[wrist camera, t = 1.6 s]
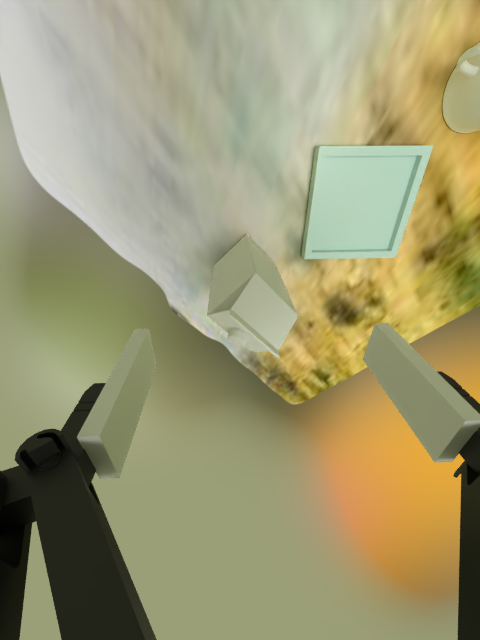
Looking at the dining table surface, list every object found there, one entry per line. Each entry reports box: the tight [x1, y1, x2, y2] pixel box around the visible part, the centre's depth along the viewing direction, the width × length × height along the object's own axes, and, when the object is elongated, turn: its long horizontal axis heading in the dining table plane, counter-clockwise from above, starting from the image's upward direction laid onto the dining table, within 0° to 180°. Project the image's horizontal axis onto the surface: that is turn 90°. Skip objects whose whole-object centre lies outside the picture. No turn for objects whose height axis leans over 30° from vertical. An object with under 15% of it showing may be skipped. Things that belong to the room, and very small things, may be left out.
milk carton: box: [207, 234, 298, 358], centre depth 32 cm, size 7×7×19 cm
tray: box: [301, 146, 433, 259], centre depth 35 cm, size 14×14×2 cm
